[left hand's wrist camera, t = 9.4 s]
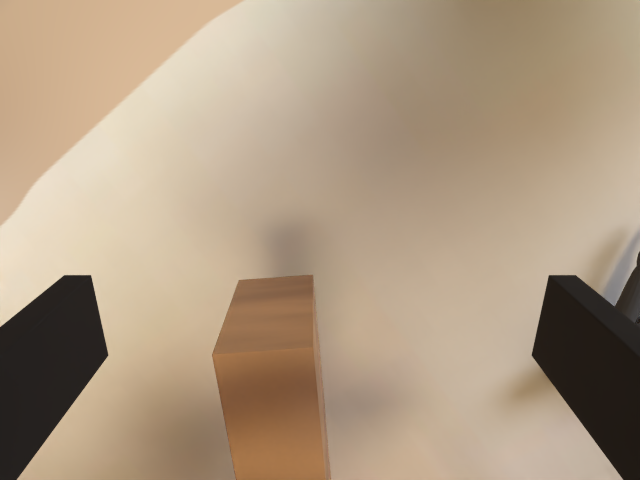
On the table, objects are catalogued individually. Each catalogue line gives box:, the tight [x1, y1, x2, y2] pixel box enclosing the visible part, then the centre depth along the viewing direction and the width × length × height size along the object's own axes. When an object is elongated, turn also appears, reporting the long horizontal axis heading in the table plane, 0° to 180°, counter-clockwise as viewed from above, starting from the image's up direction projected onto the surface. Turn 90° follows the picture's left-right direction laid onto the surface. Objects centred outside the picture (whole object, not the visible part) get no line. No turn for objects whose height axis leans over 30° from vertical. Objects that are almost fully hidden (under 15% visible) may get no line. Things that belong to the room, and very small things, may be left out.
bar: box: [212, 275, 331, 480], centre depth 29 cm, size 22×5×8 cm, turn 4°
